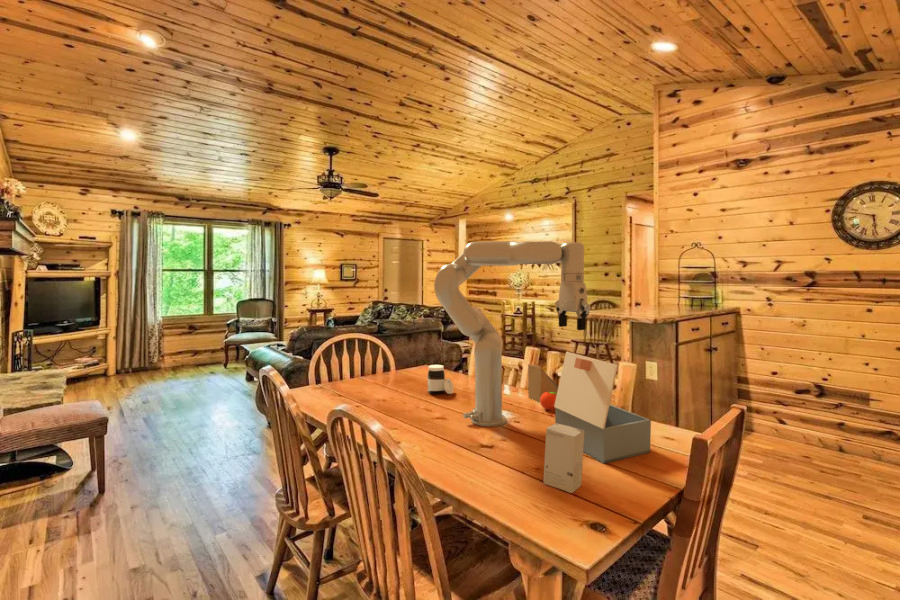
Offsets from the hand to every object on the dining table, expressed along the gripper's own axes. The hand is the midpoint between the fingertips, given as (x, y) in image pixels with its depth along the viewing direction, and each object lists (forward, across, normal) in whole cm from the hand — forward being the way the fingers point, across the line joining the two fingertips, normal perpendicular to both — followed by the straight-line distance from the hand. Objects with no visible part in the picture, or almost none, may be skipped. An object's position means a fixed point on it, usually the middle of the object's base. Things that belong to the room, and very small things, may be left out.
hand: (571, 328), depth 157 cm
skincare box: (+34, -34, +30) cm, 57 cm away
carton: (+34, -18, +3) cm, 39 cm away
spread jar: (+35, +58, +25) cm, 72 cm away
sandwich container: (+35, +30, -13) cm, 47 cm away
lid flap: (+15, -18, +10) cm, 26 cm away
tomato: (+34, +17, -4) cm, 39 cm away
